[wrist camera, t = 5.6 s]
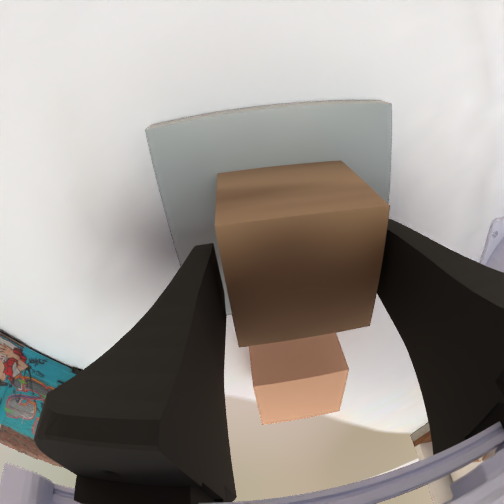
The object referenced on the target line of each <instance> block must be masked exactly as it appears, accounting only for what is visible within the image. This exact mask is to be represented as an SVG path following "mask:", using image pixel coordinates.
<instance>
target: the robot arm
mask: <svg viewBox="0 0 504 504" xmlns="http://www.w3.org/2000/svg"><path fill="white" fill-rule="evenodd" d="M495 231H496V232H495ZM494 232H495V234H494V235H493V233H494ZM377 294H378V296H379V297H380V299H381V301H382V303H383V305H384V307H385V308H386V310H387V312H388V314H389V316H390V317H391V319H392V321H393V323H394V325H395V326H396V328H397V330H398V332H399V334H400V336H401V338H402V339H403V342H404V344H405V346H406V348H407V350H408V353H409V356H410V358H411V361H412V364H413V367H414V369H415V372H416V375H417V379H418V382H419V385H420V389H421V392H422V395H423V400H424V404H425V408H426V412H427V417H428V421H429V427H430V433H431V440H432V447H433V456H431V457H428V458H426V459H423V460H421V461H418V462H416V463H413V464H411V465H408V466H405V467H403V468H400V469H397V470H394V471H391V472H388V473H385V474H382V475H379V476H376V477H373V478H369V479H366V480H362V481H359V482H355V483H351V484H348V485H344V486H340V487H335V488H331V489H326V490H322V491H317V492H312V493H306V494H300V495H295V496H288V497H282V498H273V499H264V500H255V501H243V502H232V501H234V500H235V498H236V490H235V484H234V477H233V471H232V463H231V455H230V446H229V439H228V429H227V419H226V408H225V407H226V406H225V394H224V357H225V335H226V307H225V294H224V288H223V284H222V279H221V275H220V271H219V266H218V262H217V257H216V253H215V248H214V244H213V243H209V244H203V245H196V246H194V248H193V249H192V250H191V252H190V253H189V255H188V256H187V258H186V260H185V261H184V263H183V264H182V266H181V267H180V269H179V270H178V272H177V273H176V275H175V276H174V278H173V279H172V281H171V282H170V283H169V285H168V286H167V288H166V289H165V290H164V292H163V293H162V294H161V296H160V297H159V298H158V300H157V301H156V302H155V303H154V305H153V306H152V307H151V308H150V309H149V311H148V312H147V313H146V314H145V315H144V316H143V317H142V318H141V319H140V321H139V322H138V323H137V324H136V325H135V326H134V327H133V328H132V329H131V330H130V331H129V332H128V333H127V334H126V335H124V336H123V337H122V338H121V339H120V340H119V341H118V342H117V343H116V344H115V345H114V346H113V347H111V348H110V349H109V350H108V351H107V352H106V353H104V354H103V355H102V356H101V357H99V358H98V359H97V360H96V361H94V362H93V363H92V364H90V365H89V366H88V367H87V368H85V369H84V370H82V371H81V372H80V373H78V374H77V375H75V376H74V377H72V378H71V379H69V380H68V381H66V382H64V383H63V384H61V385H60V386H58V387H57V388H55V389H54V390H52V391H50V392H48V393H47V395H46V398H45V401H44V404H43V408H42V411H41V414H40V418H39V421H38V425H37V428H36V432H35V436H34V441H35V444H36V446H37V447H38V448H39V449H40V450H41V452H43V453H44V454H45V455H46V456H48V457H49V458H51V459H52V460H54V461H55V462H57V463H58V464H60V465H61V466H63V467H65V468H66V469H68V470H70V471H71V472H73V473H75V474H76V475H77V478H76V485H75V489H74V488H70V487H66V486H62V485H58V484H54V483H53V482H52V481H50V480H49V479H47V478H45V477H43V476H41V475H39V474H37V473H35V472H33V471H30V470H27V469H24V468H21V467H18V466H15V465H12V464H10V463H5V465H4V469H3V474H2V479H1V484H0V504H376V503H379V502H382V501H385V500H388V499H391V498H394V497H397V496H399V495H402V494H405V493H407V492H410V491H412V490H415V489H418V488H420V487H422V486H425V485H427V484H429V483H432V482H434V481H436V480H438V479H441V478H443V477H445V476H447V475H449V474H451V473H453V472H455V471H457V470H459V469H461V468H463V467H465V466H467V465H468V464H470V463H472V462H474V461H476V460H478V459H479V458H481V457H483V456H484V455H486V454H488V453H490V452H491V451H493V450H494V449H496V448H497V449H496V450H495V454H494V455H493V456H491V457H490V458H488V459H487V460H485V461H484V462H482V463H481V464H479V465H478V466H477V467H476V468H474V469H473V470H471V471H470V472H468V473H467V474H465V475H464V476H462V477H461V478H459V479H457V480H456V481H454V482H452V483H451V484H450V488H451V491H452V494H453V497H452V499H451V500H449V501H447V502H445V503H442V504H504V217H502V218H496V219H495V220H493V222H492V223H491V226H490V229H489V233H488V236H487V240H486V243H485V247H484V250H483V254H482V257H481V260H480V263H478V262H476V261H473V260H471V259H469V258H466V257H464V256H462V255H460V254H458V253H456V252H454V251H452V250H450V249H448V248H446V247H444V246H442V245H440V244H438V243H437V242H435V241H433V240H431V239H429V238H427V237H425V236H423V235H422V234H420V233H418V232H416V231H414V230H412V229H410V228H408V227H406V226H404V225H402V224H400V223H398V222H396V221H393V220H391V219H388V226H387V233H386V241H385V247H384V254H383V260H382V266H381V272H380V278H379V283H378V289H377Z"/></svg>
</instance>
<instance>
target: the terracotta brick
mask: <svg viewBox="0 0 504 504" xmlns="http://www.w3.org/2000/svg"><path fill="white" fill-rule="evenodd" d="M249 351H250V361H251V370H252V380H253V388H254V392H255V396H256V401H257V405H258V408H259V413H260V417H261V421H262V425H264V424H272V423H277V422H285V421H291V420H297V419H302V418H308V417H313V416H318V415H323V414H328V413H332V412H337V411H339V410H340V406H341V402H342V398H343V394H344V389H345V385H346V380H347V376H348V371H349V368H348V365H347V363H346V360H345V357H344V354H343V351H342V348H341V346H340V343H339V340H338V337H337V335H336V333H330V334H325V335H319V336H313V337H307V338H301V339H295V340H289V341H282V342H275V343H268V344H261V345H253V346H249Z"/></svg>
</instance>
